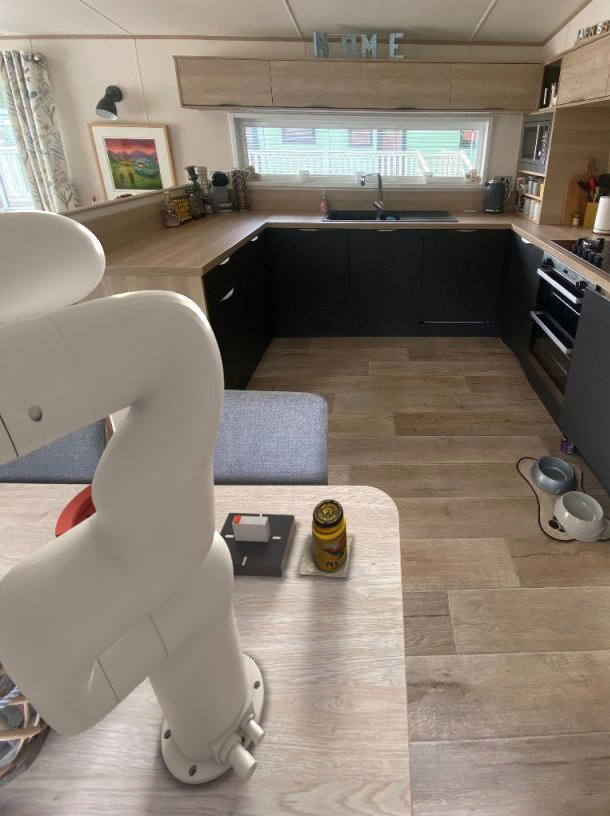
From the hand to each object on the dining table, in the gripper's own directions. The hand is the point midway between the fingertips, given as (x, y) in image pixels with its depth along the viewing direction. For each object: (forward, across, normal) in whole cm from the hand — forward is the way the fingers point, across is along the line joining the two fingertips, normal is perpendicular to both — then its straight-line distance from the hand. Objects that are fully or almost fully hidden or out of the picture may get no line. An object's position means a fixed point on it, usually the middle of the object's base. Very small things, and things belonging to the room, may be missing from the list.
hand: (45, 415), depth 63 cm
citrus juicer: (+29, 0, -14) cm, 33 cm away
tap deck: (+29, +15, -27) cm, 43 cm away
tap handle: (+26, +15, -27) cm, 41 cm away
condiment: (+30, +21, -40) cm, 54 cm away
